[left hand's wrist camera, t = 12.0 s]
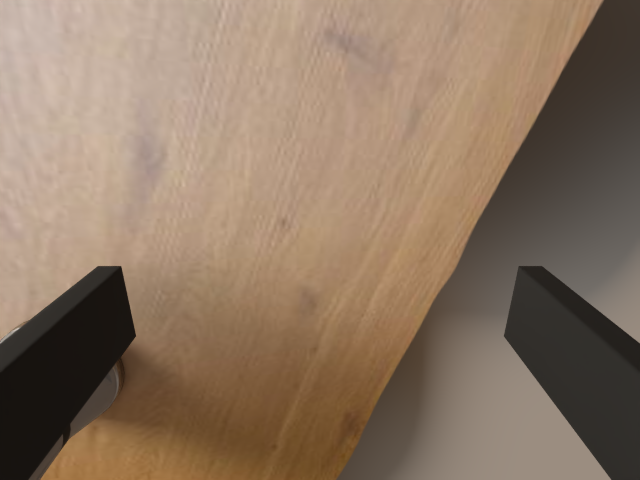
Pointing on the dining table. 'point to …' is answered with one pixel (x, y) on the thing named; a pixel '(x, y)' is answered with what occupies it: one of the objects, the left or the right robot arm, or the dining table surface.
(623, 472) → the left robot arm
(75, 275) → the dining table surface
